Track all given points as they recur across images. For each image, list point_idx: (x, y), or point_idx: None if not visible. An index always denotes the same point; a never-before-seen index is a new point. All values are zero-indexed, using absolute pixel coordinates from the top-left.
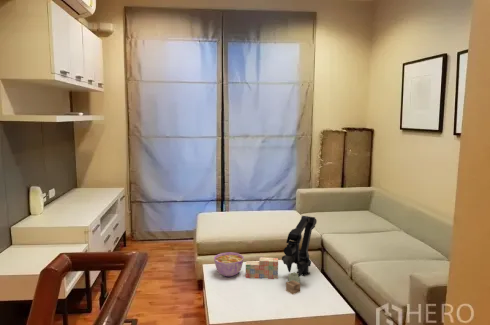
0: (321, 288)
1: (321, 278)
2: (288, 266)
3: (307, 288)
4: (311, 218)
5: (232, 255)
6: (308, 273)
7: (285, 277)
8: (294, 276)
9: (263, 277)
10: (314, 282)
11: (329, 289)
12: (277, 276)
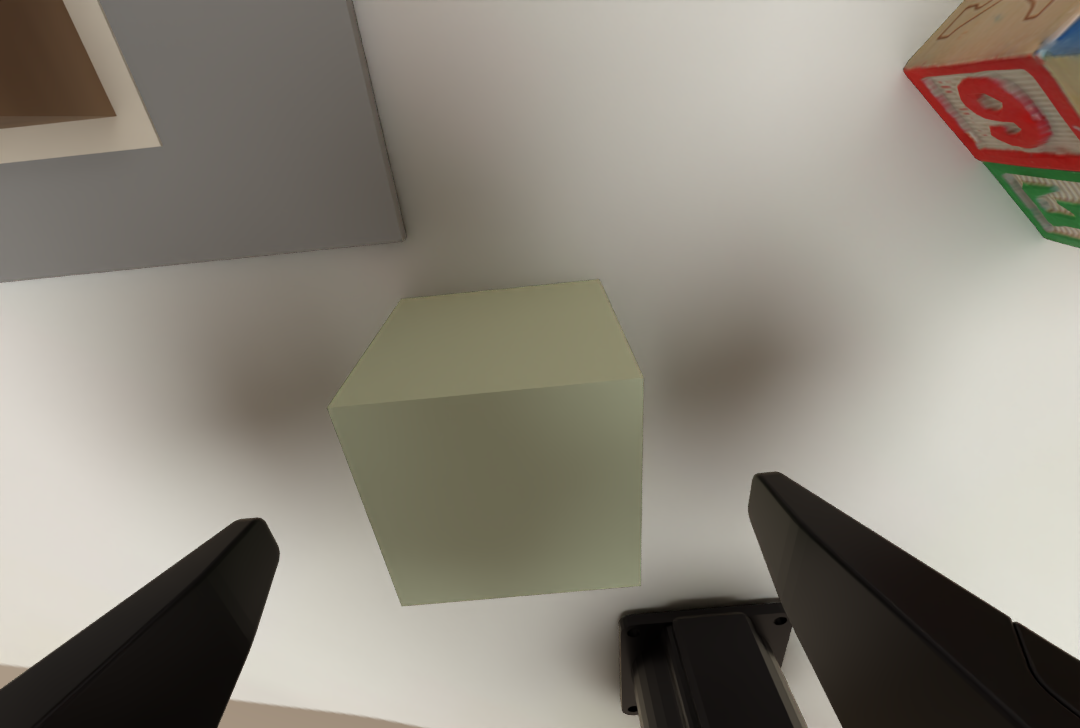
0: (69, 595)
1: (415, 724)
2: (958, 706)
3: (96, 422)
4: None
5: None
6: (623, 695)
7: (807, 336)
8: (339, 431)
9: None
10: (326, 620)
11: (20, 652)
12: (988, 51)
